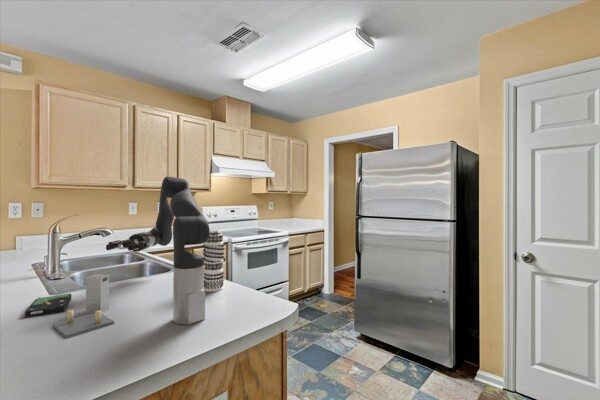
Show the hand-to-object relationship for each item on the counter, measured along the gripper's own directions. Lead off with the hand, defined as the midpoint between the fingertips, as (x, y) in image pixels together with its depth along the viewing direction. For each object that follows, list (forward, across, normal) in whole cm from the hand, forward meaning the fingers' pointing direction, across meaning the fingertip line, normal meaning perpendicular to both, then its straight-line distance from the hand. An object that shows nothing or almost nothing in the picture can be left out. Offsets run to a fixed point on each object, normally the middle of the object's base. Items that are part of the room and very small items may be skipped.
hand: (118, 247), depth 111 cm
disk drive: (+9, -18, +21) cm, 29 cm away
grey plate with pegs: (+23, +4, +20) cm, 30 cm away
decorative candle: (-15, +32, +20) cm, 41 cm away
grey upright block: (+11, 0, +20) cm, 23 cm away
